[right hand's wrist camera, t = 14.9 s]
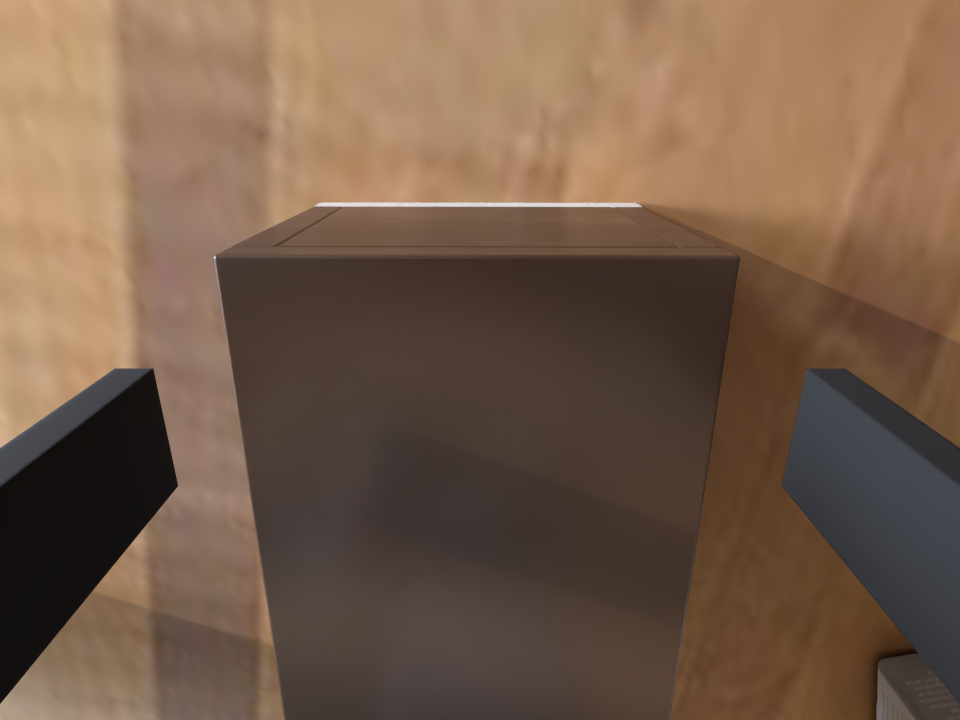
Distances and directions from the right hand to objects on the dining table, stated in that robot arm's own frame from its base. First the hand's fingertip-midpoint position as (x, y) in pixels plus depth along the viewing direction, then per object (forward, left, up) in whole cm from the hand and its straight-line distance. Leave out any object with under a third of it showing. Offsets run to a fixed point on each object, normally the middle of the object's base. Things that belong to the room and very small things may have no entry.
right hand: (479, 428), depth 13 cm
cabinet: (+2, -4, -10) cm, 11 cm away
